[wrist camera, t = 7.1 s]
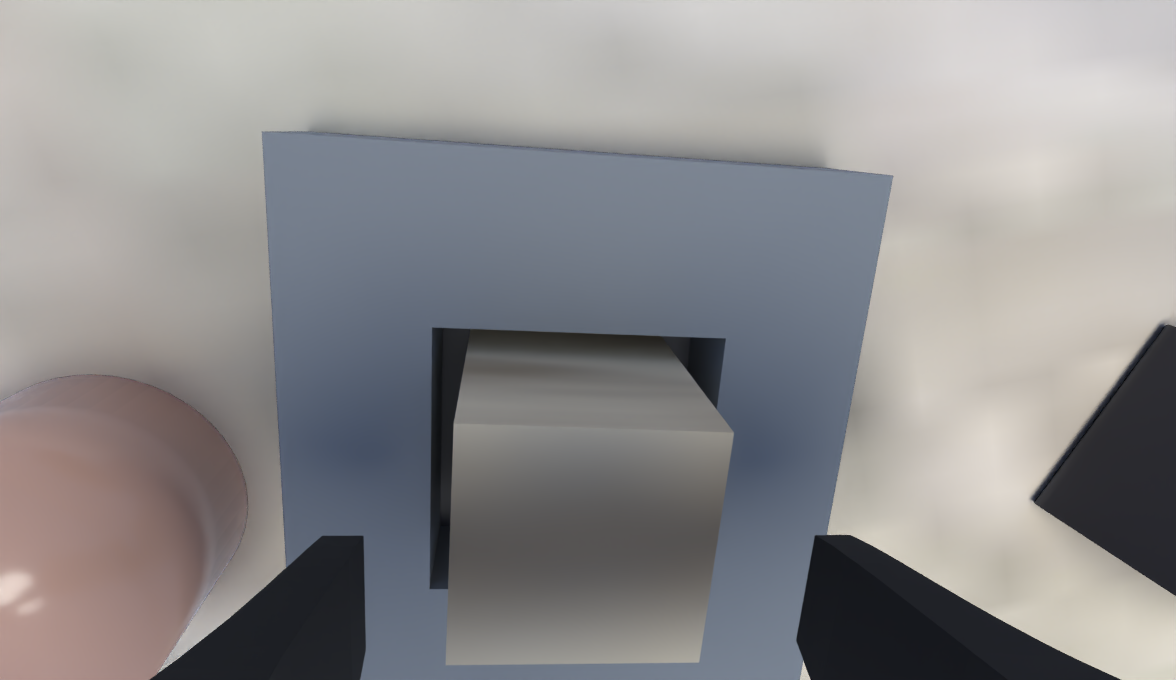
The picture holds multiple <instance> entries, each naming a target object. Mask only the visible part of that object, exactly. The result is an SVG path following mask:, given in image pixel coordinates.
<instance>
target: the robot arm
mask: <svg viewBox="0 0 1176 680" xmlns="http://www.w3.org/2000/svg"><path fill="white" fill-rule="evenodd" d="M796 642H797V644H798V647H799V650H800V652H801V655H802V658H803V660H804V663H805V666H806V669H807V671H808V674H809V676H810V679H811V680H1120V679H1118V678H1116V677H1114V676H1112V675H1109V674H1107V673H1105V672H1103V671H1101V670H1099V669H1096V668H1094V667H1092V666H1090V665H1088V664H1086V663H1083V662H1081V661H1079V660H1077V659H1075V658H1073V657H1071V656H1069V655H1067V654H1065V653H1062V652H1060V651H1058V650H1056V649H1054V648H1052V647H1050V646H1048V645H1046V644H1045V643H1043V642H1041V641H1039V640H1037V639H1035V638H1033V637H1031V636H1029V635H1028V634H1026V633H1024V632H1022V631H1020V630H1018V629H1016V628H1014V627H1013V626H1011V625H1009V624H1007V623H1005V622H1003V621H1001V620H1000V619H998V618H996V617H994V616H992V615H991V614H989V613H987V612H985V611H983V610H982V609H980V608H978V607H976V606H975V605H973V604H971V603H969V602H968V601H966V600H964V599H962V598H961V597H959V596H957V595H956V594H954V593H952V592H950V591H949V590H947V589H945V588H944V587H942V586H940V585H938V584H937V583H935V582H933V581H932V580H930V579H928V578H927V577H925V576H923V575H922V574H920V573H918V572H916V571H915V570H913V569H911V568H910V567H908V566H906V565H905V564H903V563H901V562H900V561H898V560H896V559H894V558H893V557H891V556H889V555H887V554H886V553H884V552H882V551H880V550H879V549H877V548H875V547H873V546H871V545H869V544H867V543H865V542H864V541H862V540H859V539H857V538H855V537H853V536H851V535H815V537H814V543H813V548H812V554H811V560H810V565H809V571H808V576H807V582H806V588H805V593H804V599H803V604H802V610H801V616H800V621H799V627H798V632H797V638H796ZM365 652H366V630H365V579H364V536H321V537H320V538H319V539H318V540H317V541H315V542H314V543H313V544H312V545H311V546H310V547H309V548H307V549H306V550H305V551H304V552H303V553H302V554H301V555H300V556H299V557H297V558H296V559H295V560H294V561H293V562H292V563H291V564H290V565H289V566H288V567H287V568H286V569H284V570H283V571H282V572H281V573H280V574H279V575H278V576H277V577H276V578H275V579H274V580H272V581H271V582H270V583H269V584H268V585H267V586H266V587H265V588H264V589H262V590H261V591H260V592H259V593H258V594H257V595H256V596H254V597H253V598H252V599H251V600H250V601H249V602H248V603H246V604H245V605H244V606H243V607H242V608H241V609H240V610H238V611H237V612H236V613H235V614H234V615H233V616H231V617H230V618H229V619H228V620H227V621H225V622H224V623H223V624H222V625H220V626H219V627H218V628H217V629H215V630H214V631H213V632H211V633H210V634H209V635H208V636H206V637H205V638H204V639H203V640H201V641H200V642H199V643H198V644H196V645H195V646H194V647H193V648H191V649H190V650H189V651H188V652H186V653H185V654H184V655H182V656H181V657H180V658H179V659H177V660H176V661H174V662H173V663H172V664H170V665H169V666H168V667H166V668H165V669H164V670H162V671H161V672H159V673H158V674H156V675H155V676H154V677H152V678H151V679H149V680H360V678H361V673H362V668H363V662H364V657H365Z"/></svg>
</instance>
